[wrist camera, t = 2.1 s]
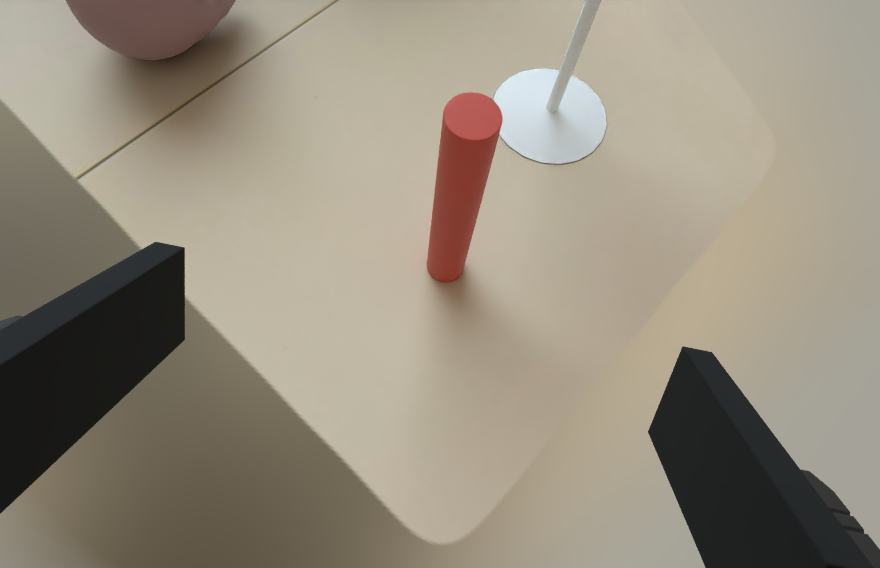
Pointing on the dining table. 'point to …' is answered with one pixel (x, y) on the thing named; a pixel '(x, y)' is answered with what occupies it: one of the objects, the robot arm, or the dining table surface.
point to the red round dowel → (461, 180)
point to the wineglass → (553, 106)
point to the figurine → (149, 24)
